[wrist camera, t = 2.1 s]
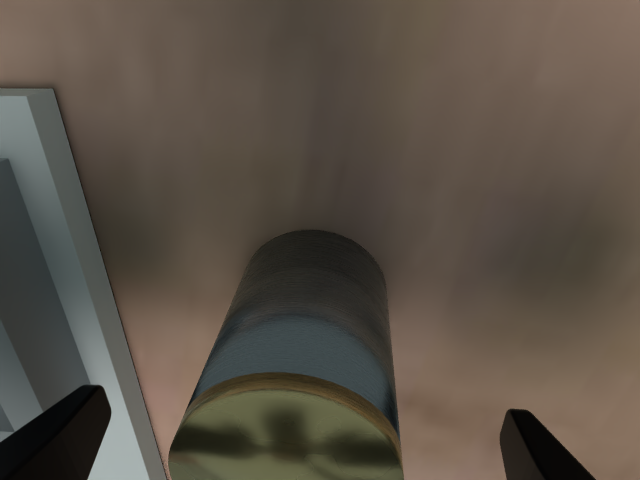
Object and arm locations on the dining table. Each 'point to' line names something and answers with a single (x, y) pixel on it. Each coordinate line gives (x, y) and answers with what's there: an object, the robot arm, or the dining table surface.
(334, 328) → the lidded tin can
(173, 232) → the dining table surface
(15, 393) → the dock
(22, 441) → the robot arm
